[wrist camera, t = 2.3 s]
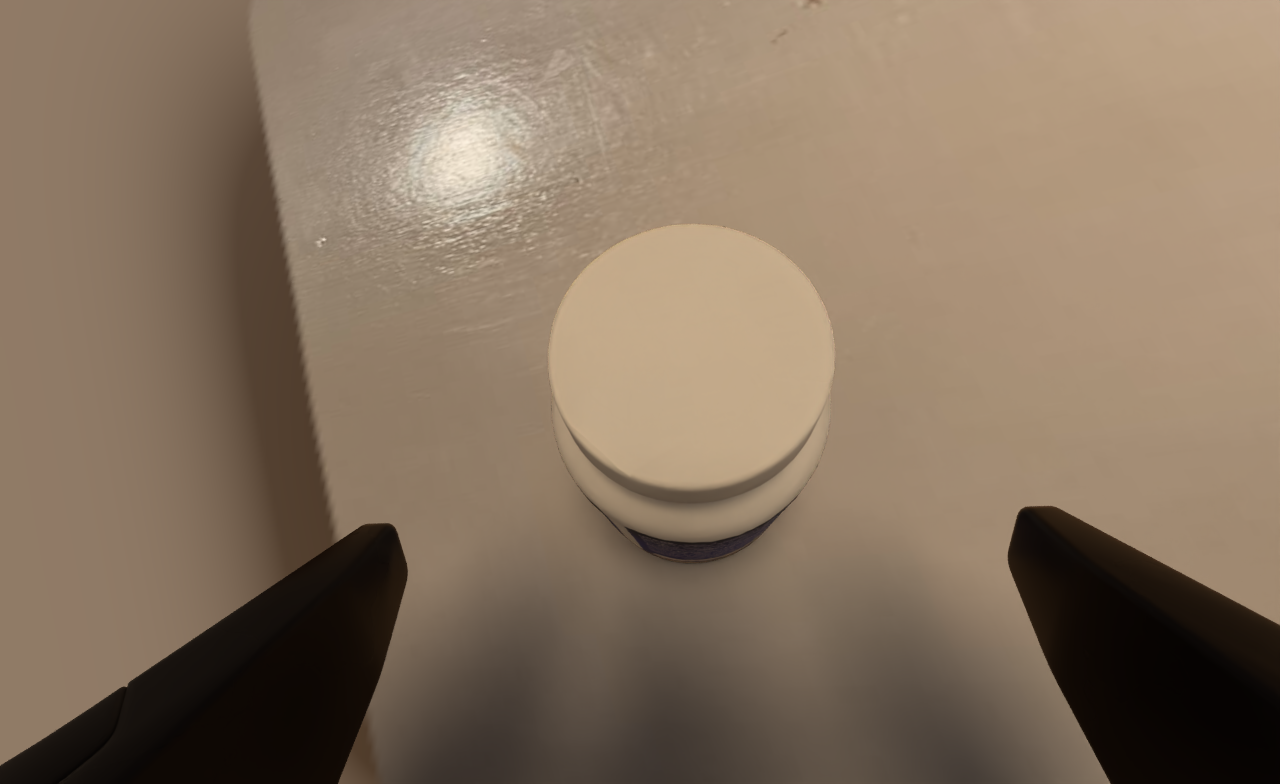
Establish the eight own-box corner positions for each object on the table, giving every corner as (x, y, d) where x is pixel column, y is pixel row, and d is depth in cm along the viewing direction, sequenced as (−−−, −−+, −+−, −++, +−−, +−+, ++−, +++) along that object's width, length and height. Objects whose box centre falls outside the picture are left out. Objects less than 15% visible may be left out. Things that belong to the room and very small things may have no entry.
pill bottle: (817, 432, 20) (933, 281, 10) (729, 601, 19) (769, 606, 9) (655, 348, 21) (626, 144, 12) (561, 501, 20) (443, 413, 10)
